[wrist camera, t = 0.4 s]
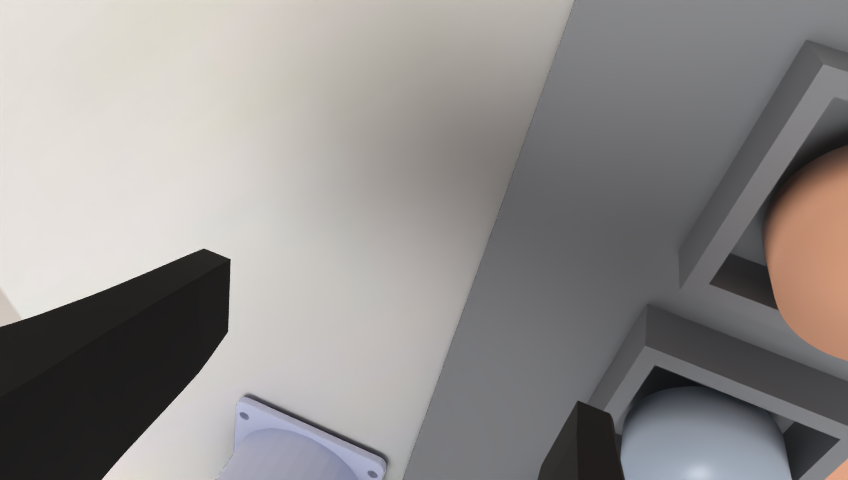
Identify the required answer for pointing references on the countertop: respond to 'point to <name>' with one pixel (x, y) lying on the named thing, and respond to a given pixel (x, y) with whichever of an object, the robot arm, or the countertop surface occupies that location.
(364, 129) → the countertop surface
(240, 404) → the robot arm
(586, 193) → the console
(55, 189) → the countertop surface
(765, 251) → the button terracotta
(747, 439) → the button slate
